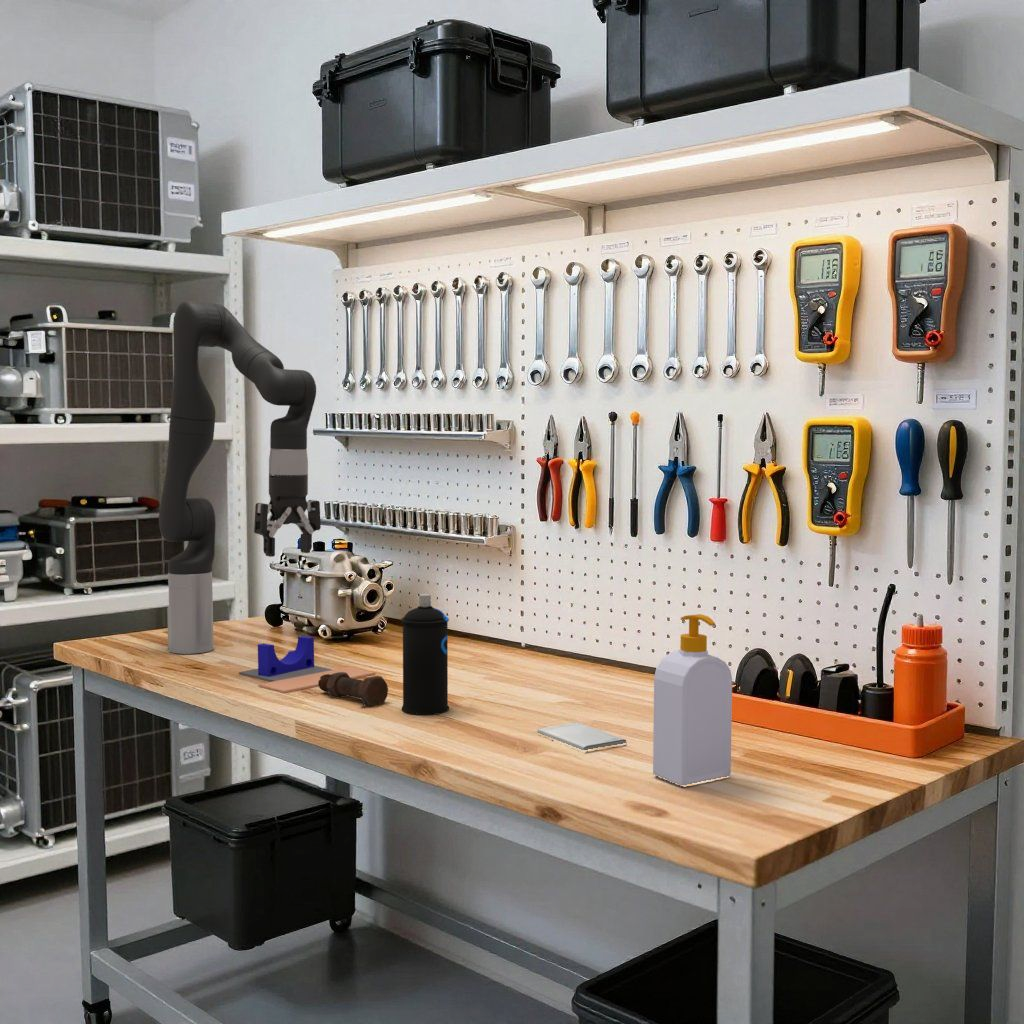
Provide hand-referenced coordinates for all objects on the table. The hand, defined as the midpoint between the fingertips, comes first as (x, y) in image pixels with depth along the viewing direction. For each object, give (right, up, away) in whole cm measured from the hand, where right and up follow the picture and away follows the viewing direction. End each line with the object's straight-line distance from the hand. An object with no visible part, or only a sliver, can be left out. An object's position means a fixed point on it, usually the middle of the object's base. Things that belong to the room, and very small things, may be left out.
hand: (287, 554), depth 226 cm
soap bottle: (+69, -29, -66) cm, 100 cm away
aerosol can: (+29, -26, -28) cm, 48 cm away
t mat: (+2, -24, -1) cm, 24 cm away
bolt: (+15, -26, -19) cm, 35 cm away
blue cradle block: (-1, -23, +3) cm, 24 cm away
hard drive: (+55, -28, -47) cm, 77 cm away
